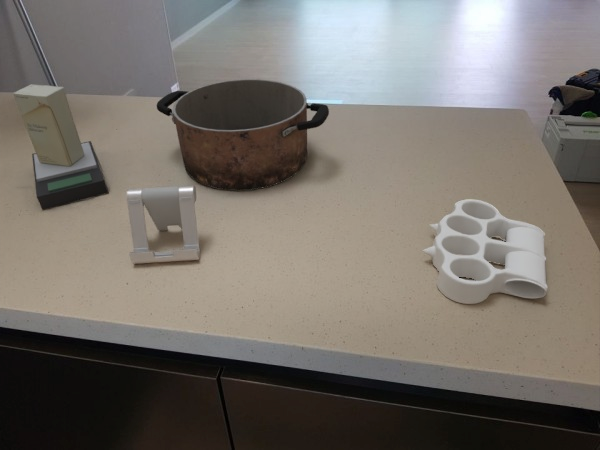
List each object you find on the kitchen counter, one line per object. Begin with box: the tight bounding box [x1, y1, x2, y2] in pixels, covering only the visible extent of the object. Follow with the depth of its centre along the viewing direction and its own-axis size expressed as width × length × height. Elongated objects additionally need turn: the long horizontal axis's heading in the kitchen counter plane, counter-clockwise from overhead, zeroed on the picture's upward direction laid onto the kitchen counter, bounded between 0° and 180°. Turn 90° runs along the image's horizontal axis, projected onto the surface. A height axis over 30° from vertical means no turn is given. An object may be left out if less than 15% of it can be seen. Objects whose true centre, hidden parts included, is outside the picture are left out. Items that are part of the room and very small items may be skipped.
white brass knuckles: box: [421, 198, 549, 305], centre depth 59 cm, size 3×18×15 cm
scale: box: [31, 140, 109, 211], centre depth 78 cm, size 16×10×3 cm, turn 28°
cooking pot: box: [156, 78, 330, 191], centre depth 80 cm, size 30×22×11 cm
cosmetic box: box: [12, 83, 84, 166], centre depth 74 cm, size 6×4×12 cm
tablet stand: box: [125, 185, 201, 265], centre depth 61 cm, size 9×8×8 cm
